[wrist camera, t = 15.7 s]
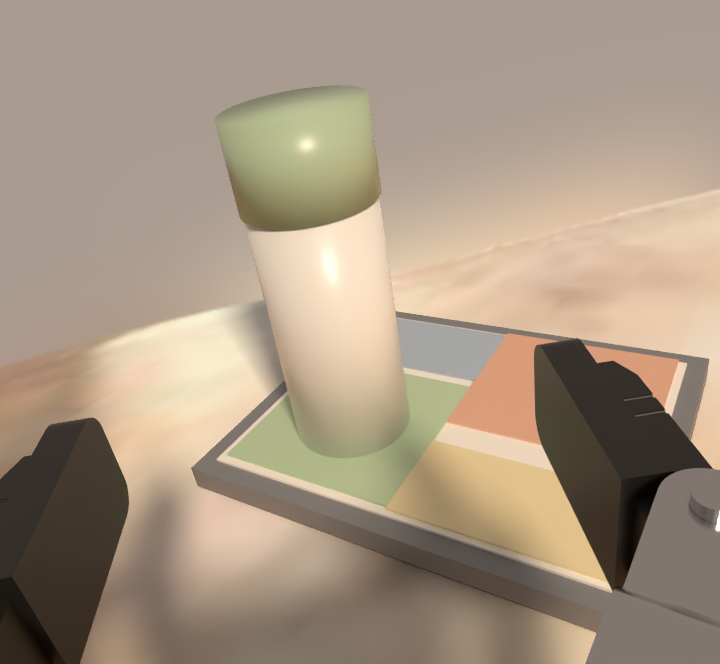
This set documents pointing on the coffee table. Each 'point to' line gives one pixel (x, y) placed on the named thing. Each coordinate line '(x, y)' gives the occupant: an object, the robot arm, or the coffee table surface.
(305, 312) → the marker
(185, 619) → the coffee table surface
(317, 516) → the picture board
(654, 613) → the robot arm
